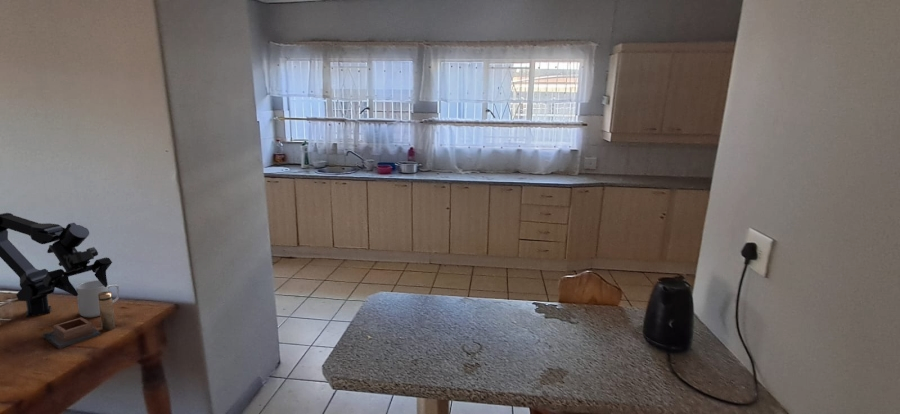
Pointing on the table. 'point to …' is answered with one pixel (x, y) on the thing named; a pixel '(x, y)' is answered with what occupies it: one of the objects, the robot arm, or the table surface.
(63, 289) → the robot arm
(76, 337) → the frame
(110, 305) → the gold metallic cylinder
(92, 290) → the mug
